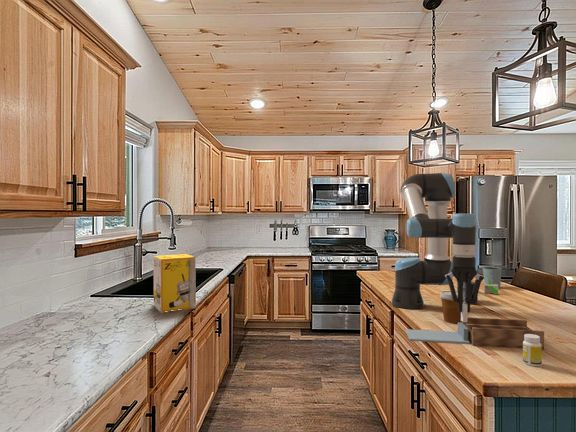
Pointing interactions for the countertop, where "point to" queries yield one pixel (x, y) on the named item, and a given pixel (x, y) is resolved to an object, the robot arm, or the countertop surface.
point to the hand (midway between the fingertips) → (464, 321)
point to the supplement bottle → (532, 350)
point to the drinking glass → (492, 275)
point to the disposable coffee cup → (450, 307)
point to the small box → (471, 292)
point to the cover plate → (440, 335)
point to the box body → (499, 332)
